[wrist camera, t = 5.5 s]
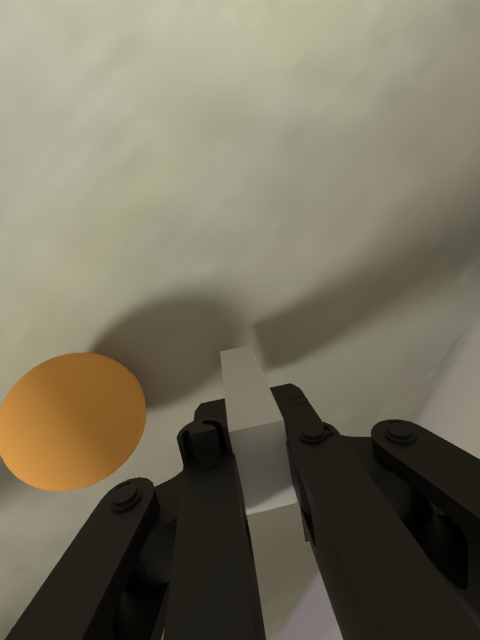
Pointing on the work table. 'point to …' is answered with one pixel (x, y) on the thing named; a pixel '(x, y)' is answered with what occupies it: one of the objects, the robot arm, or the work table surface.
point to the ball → (71, 421)
